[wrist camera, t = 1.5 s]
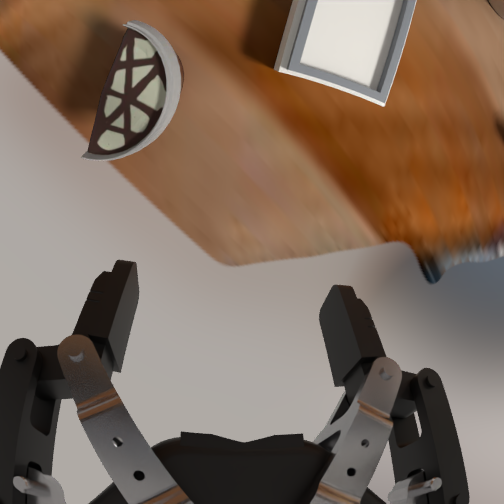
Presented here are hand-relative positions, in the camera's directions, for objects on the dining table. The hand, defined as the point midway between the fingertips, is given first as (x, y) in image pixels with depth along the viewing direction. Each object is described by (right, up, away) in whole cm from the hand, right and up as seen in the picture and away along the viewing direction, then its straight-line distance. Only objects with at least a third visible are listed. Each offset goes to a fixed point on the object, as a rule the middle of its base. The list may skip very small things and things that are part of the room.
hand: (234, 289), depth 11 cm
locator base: (+10, +25, +9) cm, 29 cm away
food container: (-8, +19, +14) cm, 25 cm away
